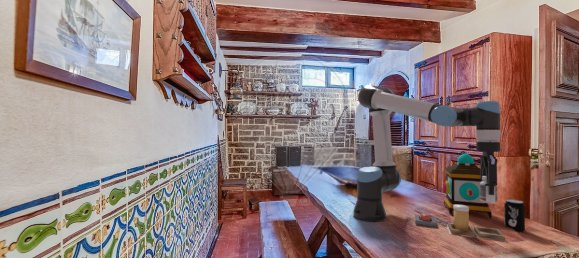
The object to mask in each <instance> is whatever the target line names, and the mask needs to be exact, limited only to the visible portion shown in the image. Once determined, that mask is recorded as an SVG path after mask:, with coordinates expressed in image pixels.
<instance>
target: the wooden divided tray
mask: <svg viewBox="0 0 579 258" xmlns="http://www.w3.org/2000/svg"><path fill="white" fill-rule="evenodd" d="M446 227H447V230H448V233H449V235H453V236H460V237H461V236H462V237H468V238H477V239H483V240H490V241H499V242H505V243H508V240H506V236H505V235H504V233H503V232H501V230H500V229H498V228H492V227H482V226H475V225H473V226H472V225H469V231H464V230H456V229H454V223H453V222H447V225H446Z"/></svg>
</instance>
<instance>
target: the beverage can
mask: <svg viewBox="0 0 579 258" xmlns="http://www.w3.org/2000/svg"><path fill="white" fill-rule="evenodd" d="M503 206H504V208H503V211H504V213H503V214H504V215H503V217H504V220H503V221H504V223H503V224H504V227H507V228H510V229H512V230H513V231H514V232H517V233H519V232H520V233H522V232H524V231H525V229H526V217H525V215H526V211H525V210H526V208H525V207H526V206H525V204H524V201H522V200H520V199H514V198H513V199H511V198H509V199H505V201H504V203H503Z"/></svg>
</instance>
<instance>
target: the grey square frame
mask: <svg viewBox="0 0 579 258" xmlns="http://www.w3.org/2000/svg"><path fill="white" fill-rule="evenodd" d="M414 222H415V225H416V226H422V227H431V228H438V222H437V219H436V217H435V216H431V221H425V220H420V214H419V215H418V214H417V215H416V214H415V215H414Z"/></svg>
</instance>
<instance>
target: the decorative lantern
mask: <svg viewBox="0 0 579 258" xmlns="http://www.w3.org/2000/svg"><path fill="white" fill-rule="evenodd" d="M444 172H445V175H446V177H445V178H446V179H445V181H444V183H443V191H444V193H445V197H444V199H443V206H444V207H446V208H448V213H449V215H451V216H452V215H453V214H454V209H453V205H465V206H468V207H469V212H472V213H483V214H486V216H487V219H489V220H491V219H492V217H493V216H492V214H493V213H492V210H491V208H490V206H489V203H485V202H482V201H480V182H482V181H481V179H480V178H481V167H479V166H478V165H476V163H475V160H474V158H473V156H471V155H470V154H468V153H463V154H461V155H460V156H458V157H457V161H456V163H454V164H452V165H447V166H446V167H445V168H444Z"/></svg>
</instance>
